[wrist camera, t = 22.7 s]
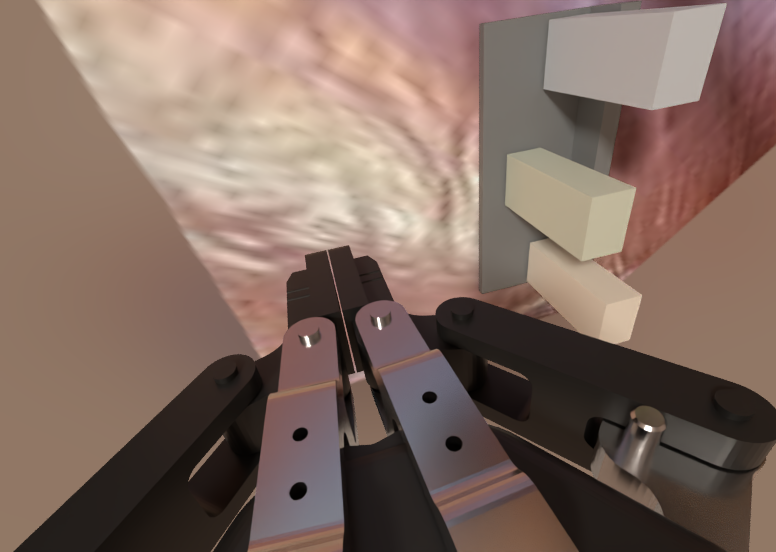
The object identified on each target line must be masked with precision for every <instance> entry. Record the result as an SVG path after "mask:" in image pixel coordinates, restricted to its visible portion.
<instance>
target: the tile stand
mask: <svg viewBox="0 0 776 552" xmlns="http://www.w3.org/2000/svg"><path fill="white" fill-rule="evenodd" d="M641 2H642V1H634V2H624V3H614V4H604V5H597V6H591V7H584V8H578V9H572V10H565V11H559V12H552V13H546V14H540V15H533V16H527V17H521V18H514V19H508V20H501V21H495V22H489V23H482V24H480V40H479V291H480V292H481V293H482V294H484V293H488V292H492V291H496V290H500V289H504V288H508V287H512V286H515V285H519V284H523V283H527V272H528V261H529V249H530V242H535V241H539V240H543V239H547V238H549V237H548V236H546V235H545V234H544V233H542V232H541V231H539V230H538V229H537V228H535V227H534V226H533V225H531V224H530V223H529V222H527V221H526V220H525V219H523V218H522V217H521V216H519V215H518V214H516V213H515V212H514V211H512V210H511V209H510V208H508V207H507V206H506V205H505V194H506V170H507V154H511V153H516V152H521V151H526V150H531V149H536V148H543V149H545V150H547V151H550V152H552V153H555V154H557V155H559V156H562V157H564V158H566V159H569V160H571V161H574V162H576V163H578V164H581V165H583V166H586V167H588V168H590V169H593V170H595V171H597V172H600V173H602V174H605V175H607V176H609V171H610V165H611V160H612V155H613V150H614V144H615V139H616V134H617V129H618V123H619V118H620V113H621V107H622V104H617V103H612V102H607V101H602V100H597V99H592V98H587V97H581V96H576V95H571V94H566V93H561V92H556V91H551V90H545V89H543V88H544V76H545V64H546V52H547V41H548V29H549V20H551V19H557V18H564V17H570V16H576V15H582V14H590V13H603V12H616V11H629V10H640V7H641ZM592 260H593V259H592Z"/></svg>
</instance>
